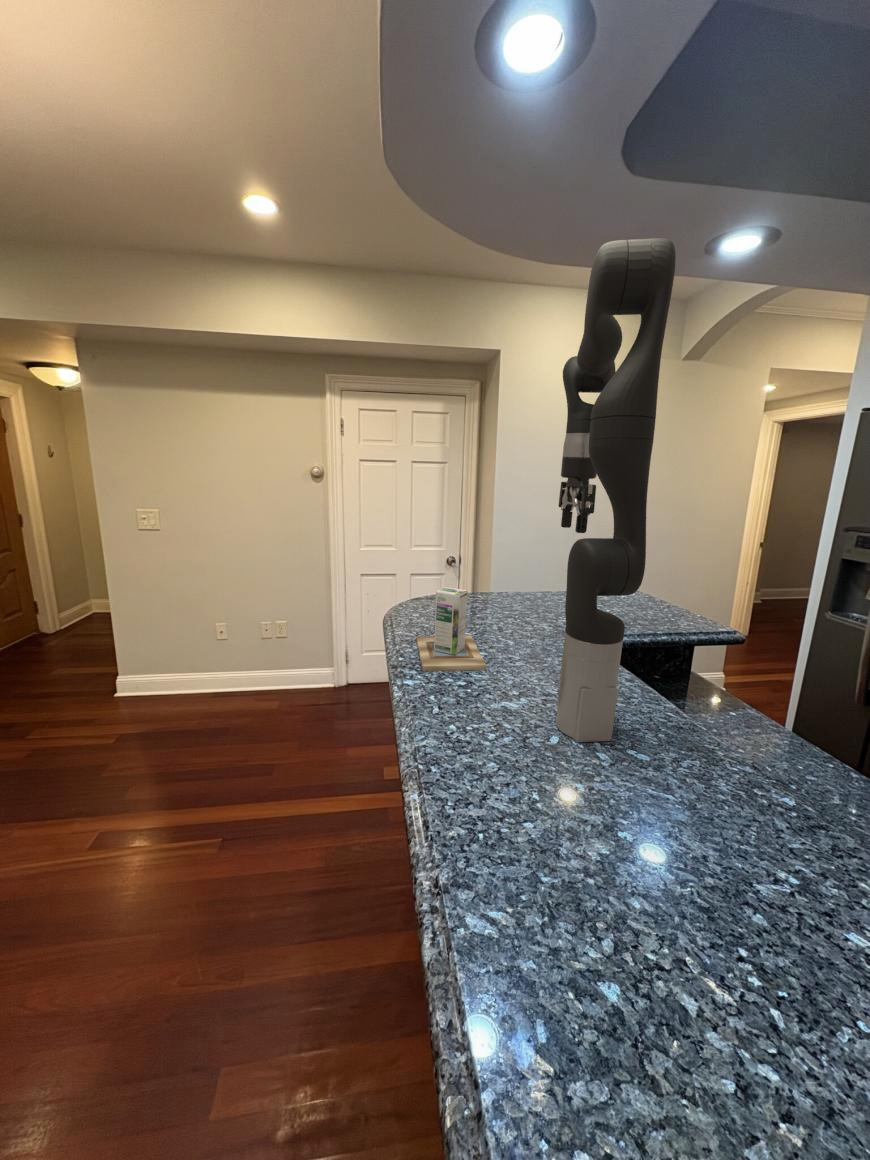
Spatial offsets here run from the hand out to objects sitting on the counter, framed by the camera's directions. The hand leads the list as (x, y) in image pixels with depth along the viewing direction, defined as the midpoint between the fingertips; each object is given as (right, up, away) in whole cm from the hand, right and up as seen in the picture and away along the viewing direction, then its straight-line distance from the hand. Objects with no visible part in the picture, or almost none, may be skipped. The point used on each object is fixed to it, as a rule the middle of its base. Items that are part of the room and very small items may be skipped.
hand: (572, 530), depth 108 cm
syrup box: (-28, -28, +5) cm, 40 cm away
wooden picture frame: (-28, -29, +5) cm, 40 cm away
